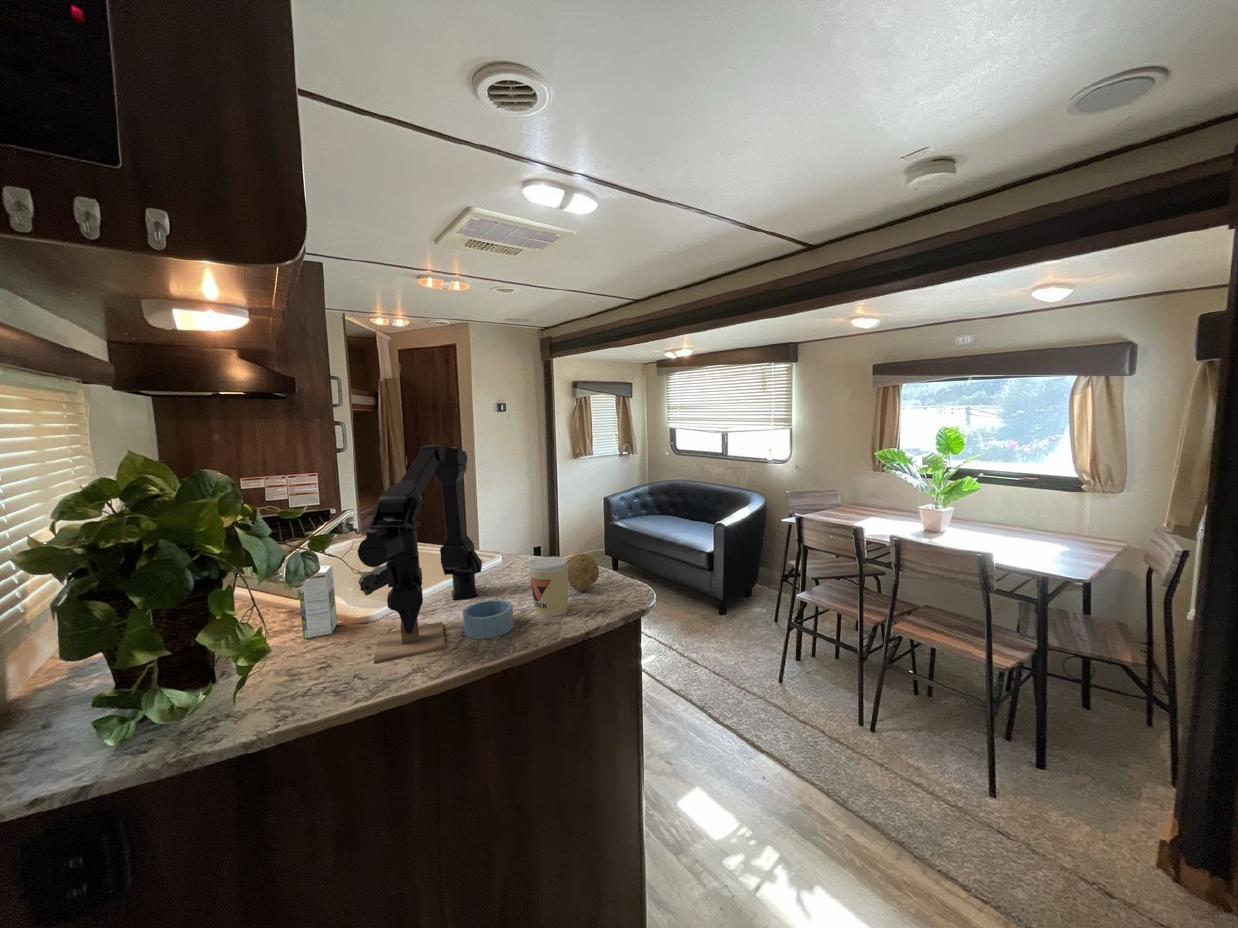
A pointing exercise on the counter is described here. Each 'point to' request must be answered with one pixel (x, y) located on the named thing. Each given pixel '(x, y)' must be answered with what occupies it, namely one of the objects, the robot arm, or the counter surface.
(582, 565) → the natural sponge
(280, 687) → the counter surface
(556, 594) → the coffee cup
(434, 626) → the cover board
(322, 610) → the syrup box
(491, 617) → the bowl
